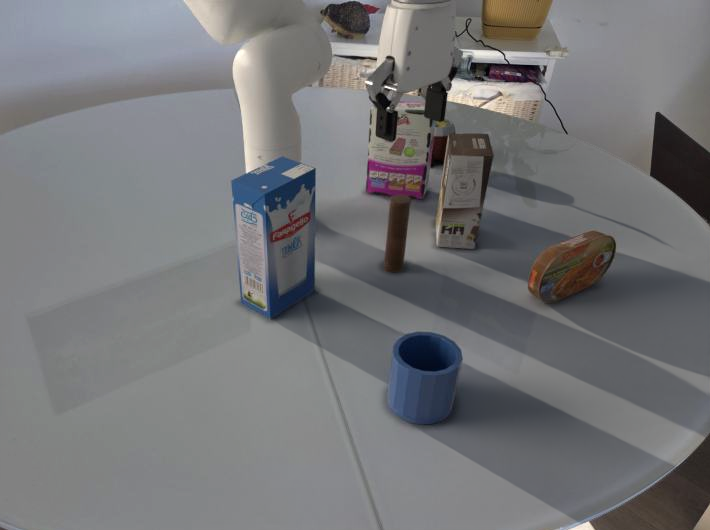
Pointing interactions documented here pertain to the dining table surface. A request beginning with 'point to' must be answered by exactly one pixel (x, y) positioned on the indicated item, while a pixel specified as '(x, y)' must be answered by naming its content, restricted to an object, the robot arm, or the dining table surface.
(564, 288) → the tin
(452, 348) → the cup
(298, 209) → the milk carton
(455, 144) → the coffee box
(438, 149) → the mate gourd
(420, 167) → the candy bar box
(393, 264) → the dowel
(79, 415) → the dining table surface
